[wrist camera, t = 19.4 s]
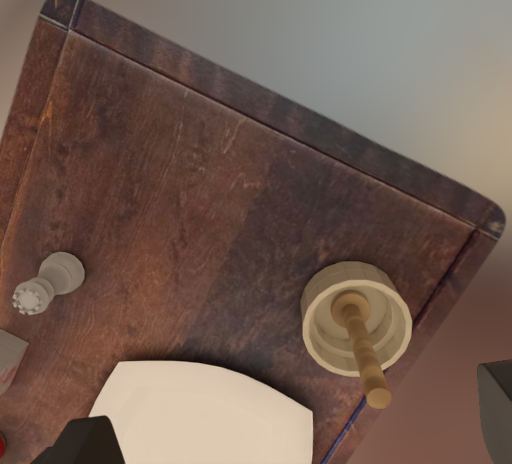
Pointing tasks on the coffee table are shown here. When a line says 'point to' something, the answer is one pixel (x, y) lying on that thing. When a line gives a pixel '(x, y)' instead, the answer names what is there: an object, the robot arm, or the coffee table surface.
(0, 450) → the soda can
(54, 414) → the coffee table surface
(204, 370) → the plate
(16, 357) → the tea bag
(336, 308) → the tan tall turned piece
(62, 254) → the rook chess piece
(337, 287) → the bowl
